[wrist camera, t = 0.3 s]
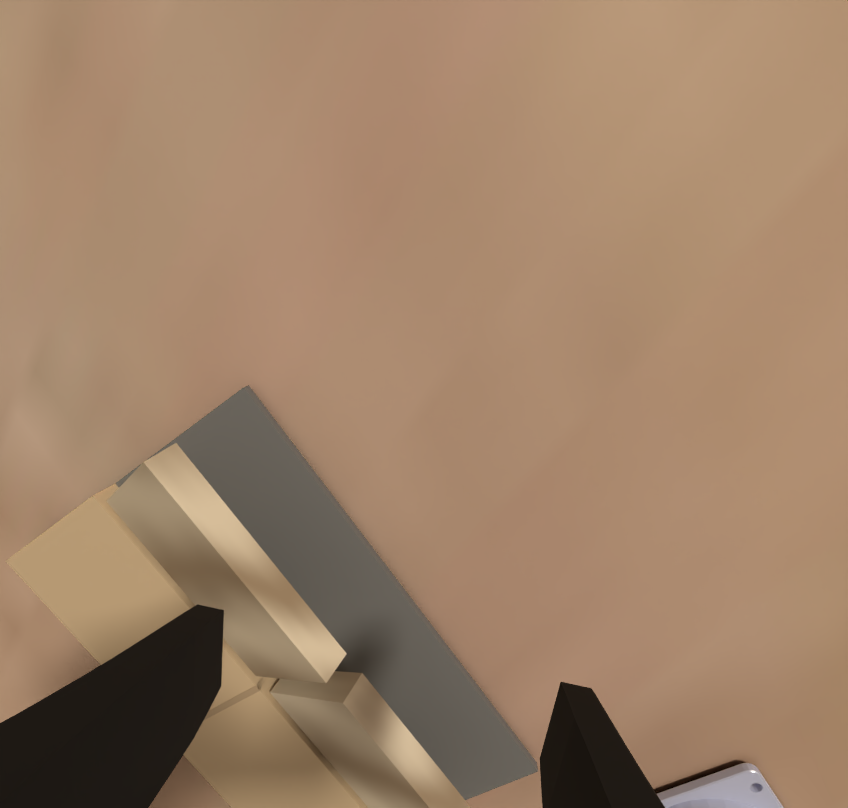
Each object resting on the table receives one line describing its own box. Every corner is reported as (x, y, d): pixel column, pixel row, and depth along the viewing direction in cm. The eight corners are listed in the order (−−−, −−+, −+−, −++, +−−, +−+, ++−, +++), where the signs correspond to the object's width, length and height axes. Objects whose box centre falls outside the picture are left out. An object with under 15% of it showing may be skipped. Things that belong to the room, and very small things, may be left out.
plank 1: (346, 653, 17) (326, 683, 16) (275, 652, 21) (255, 675, 20) (176, 442, 16) (143, 462, 15) (133, 483, 19) (106, 501, 19)
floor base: (536, 762, 21) (541, 800, 20) (306, 854, 25) (295, 892, 23) (248, 385, 18) (227, 394, 17) (30, 548, 22) (-5, 568, 20)
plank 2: (504, 849, 18) (494, 885, 18) (410, 813, 22) (397, 842, 21) (362, 672, 17) (342, 703, 16) (288, 668, 21) (269, 692, 20)
